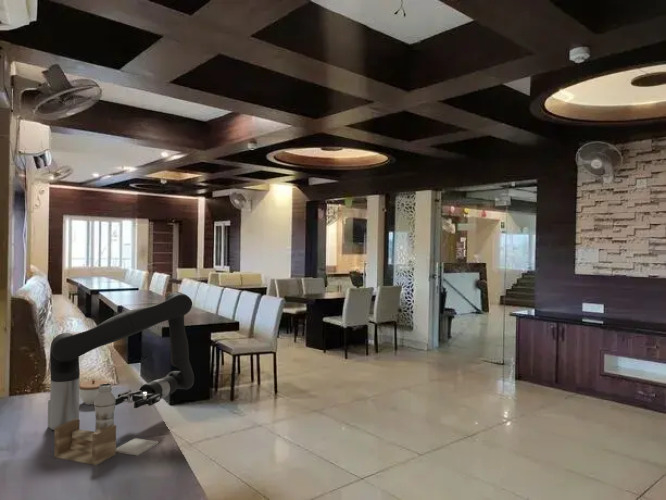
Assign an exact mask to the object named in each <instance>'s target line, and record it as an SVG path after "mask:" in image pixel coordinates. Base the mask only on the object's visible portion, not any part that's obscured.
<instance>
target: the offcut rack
mask: <svg viewBox="0 0 666 500" xmlns="http://www.w3.org/2000/svg"><path fill="white" fill-rule="evenodd" d="M116 443H117V425H116V424H114V425H110V426H108V427H106V428H103V429H101V430H99V431H97V432H95V431H92V430H85V429H81V428H80V418H79V419H74V420H72V421H69V422H67V423H65V424H62V425H60V426H57V427H55V430H54V451H53V453H54V458H58V459H63V460H67V461H73V462H77V463H83V464H89V465H94V466H97V465H99V464H101V463H103V462H104V461H106V460H108V459H111V457H114V456H115V455H117V454H116V453H117V452H116V448H117V444H116Z"/></svg>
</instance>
